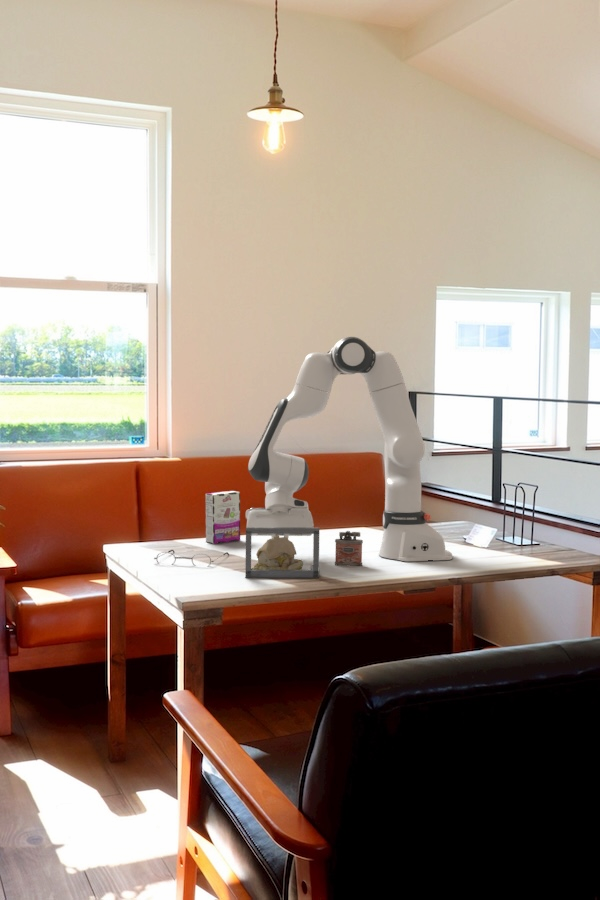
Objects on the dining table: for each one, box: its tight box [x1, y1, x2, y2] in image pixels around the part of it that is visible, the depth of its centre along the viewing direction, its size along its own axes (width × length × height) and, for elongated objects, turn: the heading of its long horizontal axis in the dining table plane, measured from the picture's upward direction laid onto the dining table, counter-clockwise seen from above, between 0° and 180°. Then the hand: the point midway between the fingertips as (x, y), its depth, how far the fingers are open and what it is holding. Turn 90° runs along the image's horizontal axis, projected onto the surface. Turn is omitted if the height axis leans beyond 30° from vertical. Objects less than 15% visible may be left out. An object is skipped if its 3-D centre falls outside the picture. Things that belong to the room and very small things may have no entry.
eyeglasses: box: [153, 549, 230, 567], centre depth 277 cm, size 18×19×4 cm
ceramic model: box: [251, 535, 304, 570], centre depth 264 cm, size 14×11×10 cm
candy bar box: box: [204, 490, 241, 545], centre depth 307 cm, size 11×5×16 cm, turn 131°
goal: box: [244, 526, 320, 579], centre depth 258 cm, size 20×11×14 cm, turn 93°
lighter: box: [334, 530, 364, 567], centre depth 271 cm, size 8×3×10 cm, turn 82°
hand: (280, 545), depth 275 cm, fingers closed
